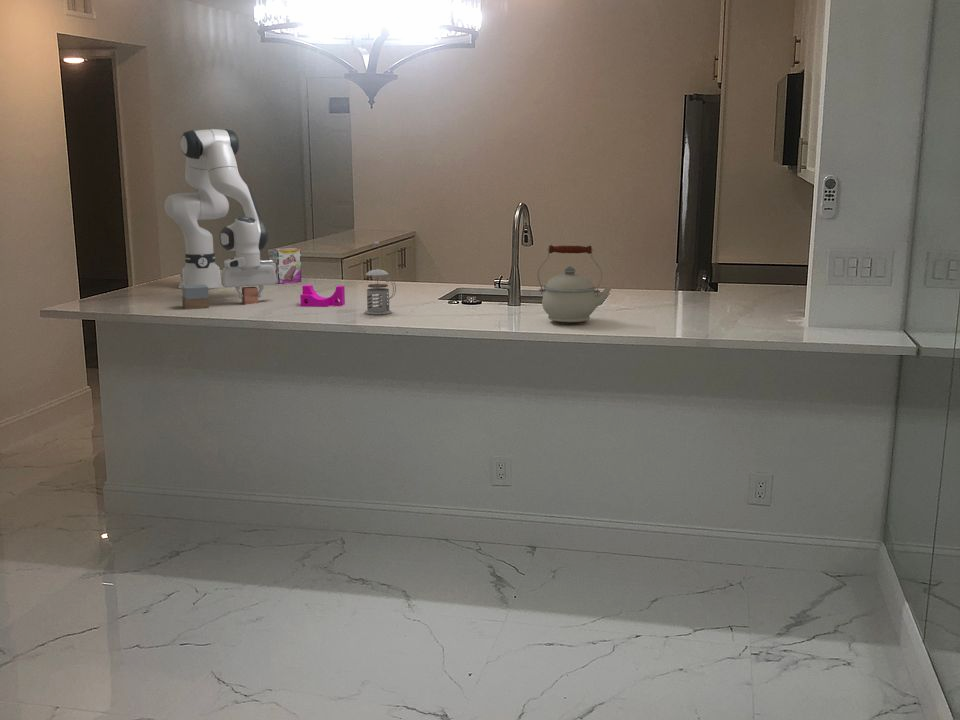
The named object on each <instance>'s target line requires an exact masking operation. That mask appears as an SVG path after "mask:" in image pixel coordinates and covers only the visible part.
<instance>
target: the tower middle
mask: <svg viewBox="0 0 960 720" xmlns="http://www.w3.org/2000/svg"><path fill="white" fill-rule="evenodd" d="M181 291H182V296H183V297H184V298H185V299H200V298H208V299H210V298H209V297H210V296H209V295H210V294H209V289H208V287H207V286H206V285H187V286H182V289H181Z"/></svg>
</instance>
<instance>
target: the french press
mask: <svg viewBox="0 0 960 720" xmlns="http://www.w3.org/2000/svg"><path fill="white" fill-rule="evenodd" d="M373 245H374V246H380V242H379V241H375V242H374V243H373ZM378 265H379V264H378V261H376V268H375V269H371V270H369V271H367V273H365V275H366V276H367V277H376V283H370V284H368V285H367V288H368V289H366V301H367V303H366V305H367V309H366V310H365V311H364V314H367V315H388V314H391V313H393V312H392V310H390V299H392V298H393V297H394V296H395V295H396V292H397V286H396V283H395V281H394V280H393V279H392V278H390V277H389V278H385V282H386V283H379V277H387V276H389V275H390V274H389V273H388V272H387V271H386V270H383V269H379V268H378V267H379V266H378ZM389 282H390V283H391V285H392V294H391V296H390V289H389V288H388V287H389V285H388V284H387V283H389Z"/></svg>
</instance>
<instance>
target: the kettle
mask: <svg viewBox="0 0 960 720" xmlns="http://www.w3.org/2000/svg"><path fill="white" fill-rule="evenodd" d="M547 251H548V253H547V257H546V259H545V260H544V261H543V262H542V263H541V265H540V266H539V268H538V270H537V271H536V272H537V273H536V274H537V281H538V284H539V286H540V288H539V289H538V292H540V294H543V296H542V298H541V299H542V300H541V305H542V309H543V310H544V312H545V313H546V314H547V319H548V320H550V321H554V322H561V323H581V322H586V321H589V320H590V316H591V315H592V313H594V311H595V310H596V309H597V308H598V307H599V306H600V305H602V304H603V302H604V301H606V300H605V299H606V298H607V296H608V295H609V294H610V292H611V290H612V287H609V286H606V287H605V288H603V291H602V292H601V290H600V289H599V287H600V285H601V283H602V279H603V270H602V268H601V267H600V266H599V264H598V263H597V261H596V260H595V259H594V258H593V251H594V248H593V246H592V245H587V246H583V245H557V246H554V245H552V244H550V245H548V247H547ZM553 253H557V254H558V253H559V254H584V253H586V254H589V255H590V257H591V260H592V261H593V263H594V264H595V265H596V267H597V268H598V269H599V272H600V274H601V277H600V281H599V284H598V285H597V287H596V286H595V285H594V284H593V282H592V280H591V279H590V278H588V277H586V276H584V275H581V274H576V272H577V271H576V270H575V268H574V267H573V266H571V265H570V266H568V267H566V268H565V269H564V270H563V272H564V273H563V274H562V273H561V274H557V275H555V276H554V275H553V276H552V277H551V278H549V279H548V280H547V282H546V284H545V285H544V286H542V283H541V281H540V276H539V273H540V270H541V268H542V266H543V265H545V263H546V262H547V261H548V259H549V257H550V254H553Z"/></svg>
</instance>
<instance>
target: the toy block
mask: <svg viewBox="0 0 960 720" xmlns="http://www.w3.org/2000/svg"><path fill="white" fill-rule="evenodd" d="M301 287H302V289H301V290H302V294H300V307H317V308H319V307H322V308H328V307H330V306H333V307H343V306H344V305H345V304H346V296H345V295H346V292H345V289H346V288H345V285H336V287H335V291H334V293H333V294H332V295H331V296H329V297H324V296H321V295H319V294H318V293H317V292H316V290H315V289H314V286H313V285H312V284H304V285H302V286H301Z"/></svg>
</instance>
